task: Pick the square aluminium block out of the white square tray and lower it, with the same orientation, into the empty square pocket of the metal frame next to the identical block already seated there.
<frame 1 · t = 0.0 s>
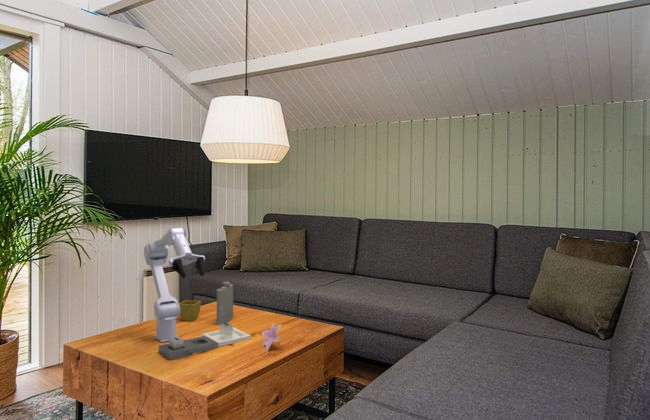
hand: (193, 275, 177), 32 cm above the table, tool tilted 50°, fingers open, 7 cm apart
flower pot: (189, 320, 229), on the table
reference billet: (176, 353, 182), resting in metal frame
hip flask: (225, 321, 227), on the table
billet: (226, 337, 199), resting on white square tray
metal frame: (188, 350, 185), on the table
white square tray: (226, 339, 199), on the table
lily: (271, 347, 190), on the table
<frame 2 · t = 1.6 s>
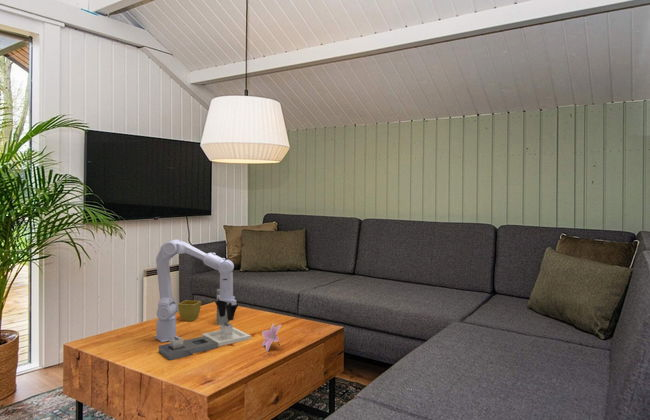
hand: (226, 318, 199), 9 cm above the table, tool pointing down, fingers open, 7 cm apart
nothing on the table moved.
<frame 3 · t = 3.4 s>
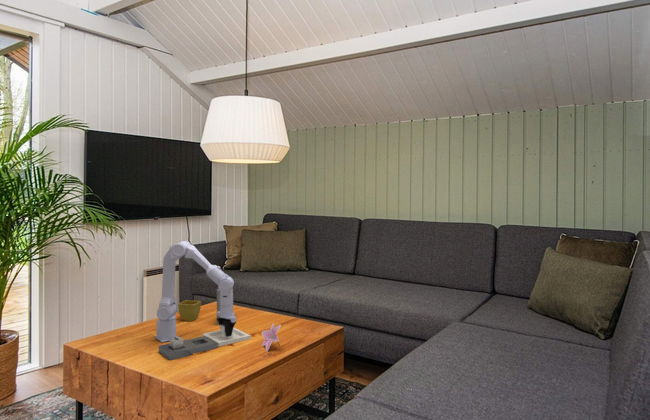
hand: (226, 334, 199), 2 cm above the table, tool pointing down, fingers closed on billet, 4 cm apart
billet: (226, 337, 199), resting on white square tray, touching gripper
everything else where it was.
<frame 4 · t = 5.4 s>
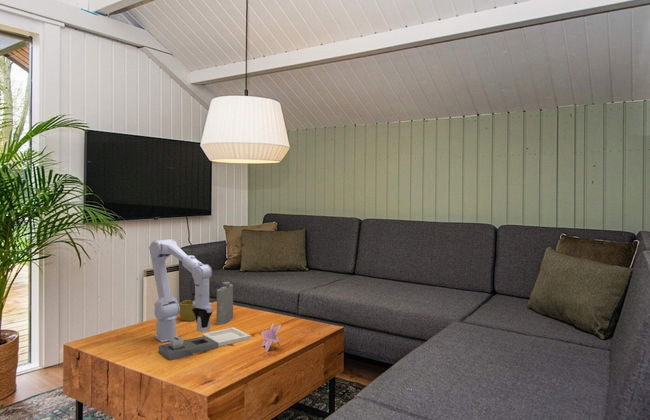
hand: (202, 326, 189), 9 cm above the table, tool pointing down, fingers closed on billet, 4 cm apart
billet: (203, 330, 189), point 7 cm above the table, touching gripper
everything else where it was.
when the fingers open (3 cm above the table, at t = 7.7 s): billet drops 1 cm, resting in metal frame.
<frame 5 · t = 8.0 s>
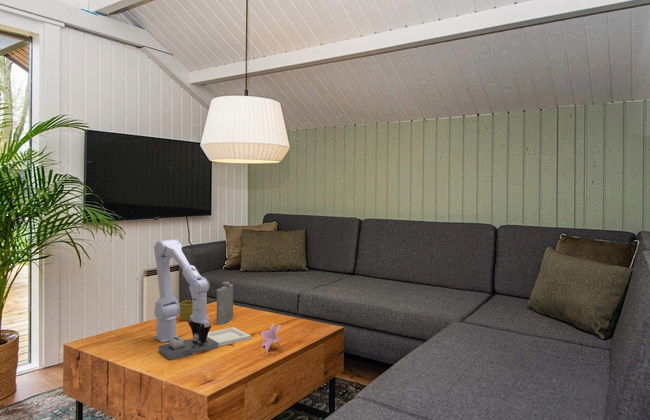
hand: (199, 340, 188), 3 cm above the table, tool pointing down, fingers open, 6 cm apart
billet: (200, 347, 188), resting in metal frame
everything else where it was.
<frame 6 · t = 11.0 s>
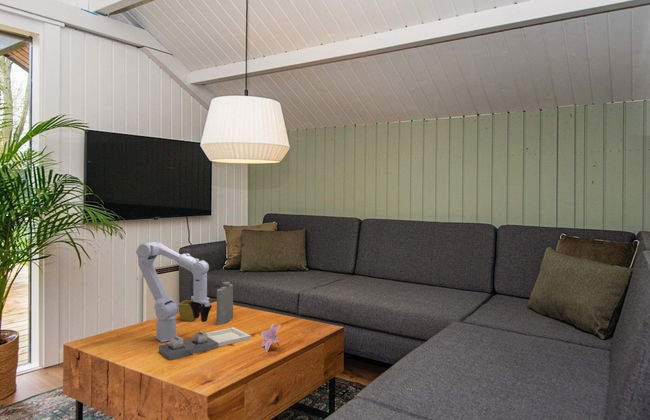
hand: (200, 319, 196), 9 cm above the table, tool pointing down, fingers open, 7 cm apart
nothing on the table moved.
at the end: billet 0.5 cm from the target spot on the metal frame, point 0.0 cm above the metal frame's base; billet tilted 0°; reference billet moved 0.1 cm from its start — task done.
